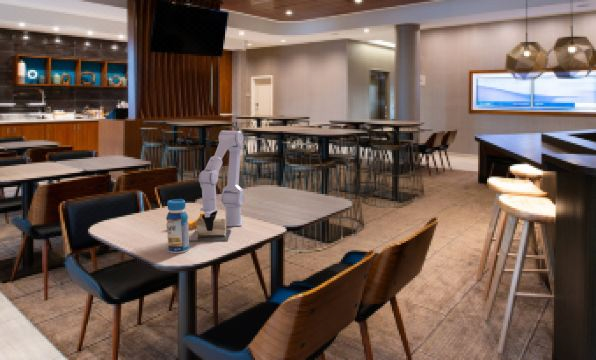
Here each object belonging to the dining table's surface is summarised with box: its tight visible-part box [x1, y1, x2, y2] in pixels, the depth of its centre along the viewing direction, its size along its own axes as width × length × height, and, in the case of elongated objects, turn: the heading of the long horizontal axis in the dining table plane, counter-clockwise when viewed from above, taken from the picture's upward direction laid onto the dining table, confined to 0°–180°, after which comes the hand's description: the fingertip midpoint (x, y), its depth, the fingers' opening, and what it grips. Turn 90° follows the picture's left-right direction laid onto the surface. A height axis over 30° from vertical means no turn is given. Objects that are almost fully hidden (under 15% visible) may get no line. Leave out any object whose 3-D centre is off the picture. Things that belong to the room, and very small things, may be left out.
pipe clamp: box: [187, 211, 205, 230], centre depth 206 cm, size 12×4×6 cm, turn 98°
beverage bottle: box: [165, 198, 191, 254], centre depth 174 cm, size 8×8×20 cm
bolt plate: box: [189, 229, 232, 243], centre depth 193 cm, size 14×16×1 cm
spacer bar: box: [196, 218, 227, 235], centre depth 192 cm, size 4×12×6 cm, turn 93°
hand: (210, 229), depth 192 cm, fingers closed on spacer bar, 4 cm apart
